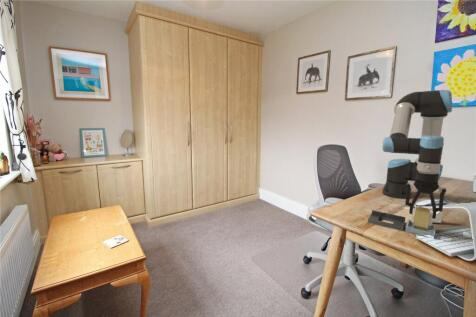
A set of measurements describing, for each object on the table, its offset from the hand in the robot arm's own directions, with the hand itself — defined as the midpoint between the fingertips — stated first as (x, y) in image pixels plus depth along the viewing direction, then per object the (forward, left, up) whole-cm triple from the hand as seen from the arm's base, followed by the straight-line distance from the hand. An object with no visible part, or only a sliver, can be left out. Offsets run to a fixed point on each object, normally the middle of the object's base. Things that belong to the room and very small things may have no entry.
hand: (421, 222), depth 103 cm
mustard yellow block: (0, 0, -3) cm, 3 cm away
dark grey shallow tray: (0, -13, -4) cm, 14 cm away
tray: (0, 0, -4) cm, 4 cm away
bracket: (-18, +1, -4) cm, 19 cm away
